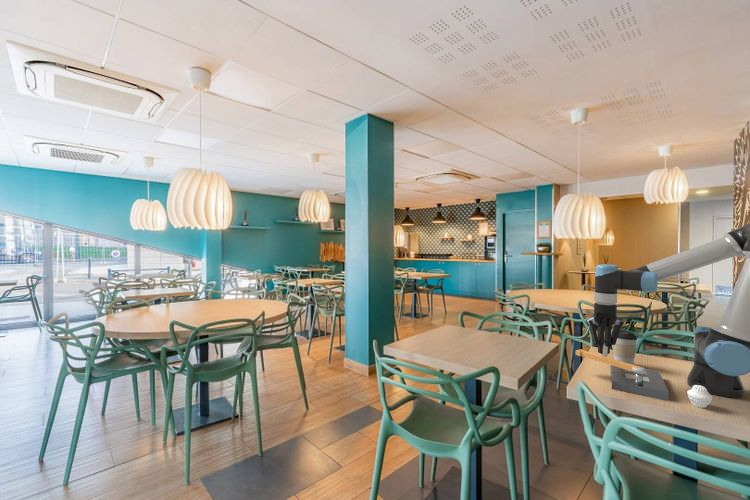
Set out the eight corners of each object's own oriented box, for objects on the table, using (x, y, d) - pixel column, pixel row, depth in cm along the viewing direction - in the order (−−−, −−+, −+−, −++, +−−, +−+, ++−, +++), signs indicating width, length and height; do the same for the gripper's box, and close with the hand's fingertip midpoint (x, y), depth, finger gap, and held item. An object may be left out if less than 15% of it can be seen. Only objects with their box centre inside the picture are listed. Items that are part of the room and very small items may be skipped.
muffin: (692, 408, 112) (693, 387, 112) (682, 400, 117) (683, 380, 117) (716, 411, 110) (717, 390, 109) (705, 403, 115) (706, 382, 115)
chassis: (658, 378, 137) (659, 361, 137) (668, 400, 117) (668, 380, 117) (610, 369, 146) (610, 353, 146) (611, 388, 126) (612, 370, 126)
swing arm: (581, 353, 144) (581, 349, 144) (648, 373, 122) (648, 368, 122) (575, 354, 142) (575, 350, 142) (642, 375, 120) (642, 370, 120)
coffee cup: (606, 361, 156) (607, 329, 156) (624, 361, 157) (625, 328, 157) (622, 368, 147) (623, 334, 147) (641, 368, 148) (642, 334, 148)
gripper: (618, 302, 139) (616, 359, 139) (583, 300, 141) (581, 357, 141) (628, 305, 131) (626, 366, 132) (592, 304, 133) (590, 363, 134)
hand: (603, 361), depth 137 cm, fingers closed
